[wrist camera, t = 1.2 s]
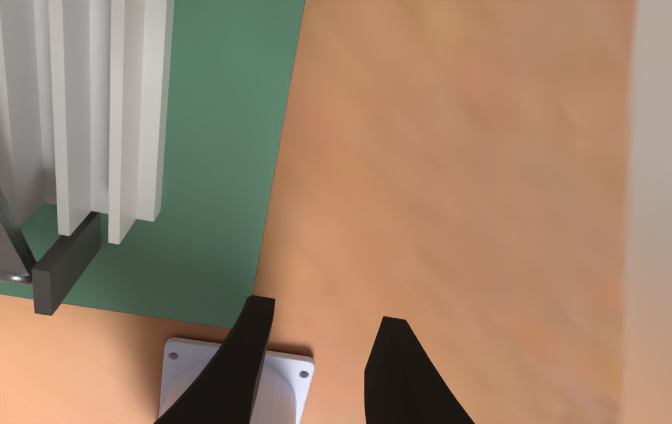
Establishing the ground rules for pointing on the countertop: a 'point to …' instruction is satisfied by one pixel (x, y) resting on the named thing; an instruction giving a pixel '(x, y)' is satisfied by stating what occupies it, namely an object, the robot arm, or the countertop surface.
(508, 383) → the countertop surface
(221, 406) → the robot arm
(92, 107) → the heatsink board
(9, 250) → the long grey plank
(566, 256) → the countertop surface
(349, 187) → the countertop surface
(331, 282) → the countertop surface
